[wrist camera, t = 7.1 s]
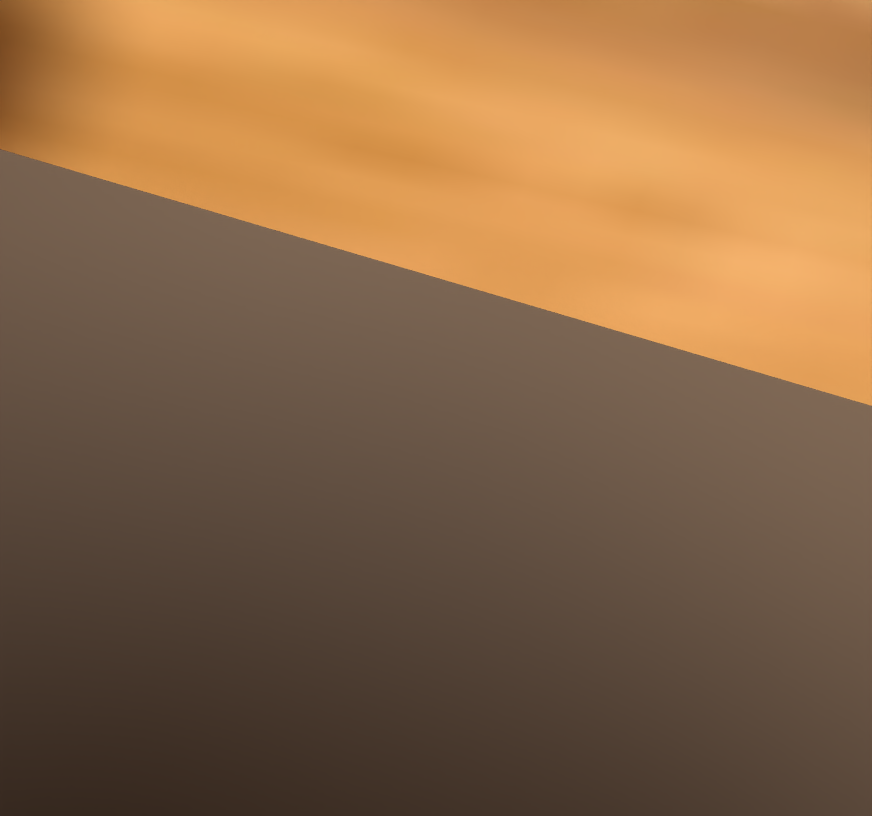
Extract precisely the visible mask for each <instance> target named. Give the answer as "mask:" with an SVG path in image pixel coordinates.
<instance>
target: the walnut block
mask: <svg viewBox="0 0 872 816" xmlns="http://www.w3.org/2000/svg"><path fill="white" fill-rule="evenodd" d="M0 816H872V406H870V405H866V404H863V403H860V402H856V401H853V400H849V399H846V398H843V397H839V396H836V395H833V394H829V393H826V392H822V391H819V390H816V389H812V388H809V387H805V386H802V385H799V384H795V383H792V382H788V381H785V380H782V379H778V378H775V377H771V376H768V375H765V374H761V373H758V372H754V371H751V370H748V369H744V368H741V367H737V366H734V365H731V364H727V363H724V362H720V361H717V360H714V359H710V358H707V357H704V356H700V355H697V354H693V353H690V352H687V351H683V350H680V349H676V348H673V347H670V346H666V345H663V344H659V343H656V342H653V341H649V340H646V339H642V338H639V337H636V336H632V335H629V334H625V333H622V332H619V331H615V330H612V329H608V328H605V327H602V326H598V325H595V324H591V323H588V322H585V321H581V320H578V319H575V318H571V317H568V316H564V315H561V314H558V313H554V312H551V311H547V310H544V309H541V308H537V307H534V306H530V305H527V304H524V303H520V302H517V301H513V300H510V299H507V298H503V297H500V296H496V295H493V294H490V293H486V292H483V291H479V290H476V289H473V288H469V287H466V286H462V285H459V284H456V283H452V282H449V281H446V280H442V279H439V278H435V277H432V276H429V275H425V274H422V273H418V272H415V271H412V270H408V269H405V268H401V267H398V266H395V265H391V264H388V263H384V262H381V261H378V260H374V259H371V258H367V257H364V256H361V255H357V254H354V253H350V252H347V251H344V250H340V249H337V248H333V247H330V246H327V245H323V244H320V243H317V242H313V241H310V240H306V239H303V238H300V237H296V236H293V235H289V234H286V233H283V232H279V231H276V230H272V229H269V228H266V227H262V226H259V225H255V224H252V223H249V222H245V221H242V220H238V219H235V218H232V217H228V216H225V215H221V214H218V213H215V212H211V211H208V210H205V209H201V208H198V207H194V206H191V205H188V204H184V203H181V202H177V201H174V200H171V199H167V198H164V197H160V196H157V195H154V194H150V193H147V192H143V191H140V190H137V189H133V188H130V187H126V186H123V185H120V184H116V183H113V182H109V181H106V180H103V179H99V178H96V177H92V176H89V175H86V174H82V173H79V172H76V171H72V170H69V169H65V168H62V167H59V166H55V165H52V164H48V163H45V162H42V161H38V160H35V159H31V158H28V157H25V156H21V155H18V154H14V153H11V152H8V151H4V150H1V149H0Z"/></svg>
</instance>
